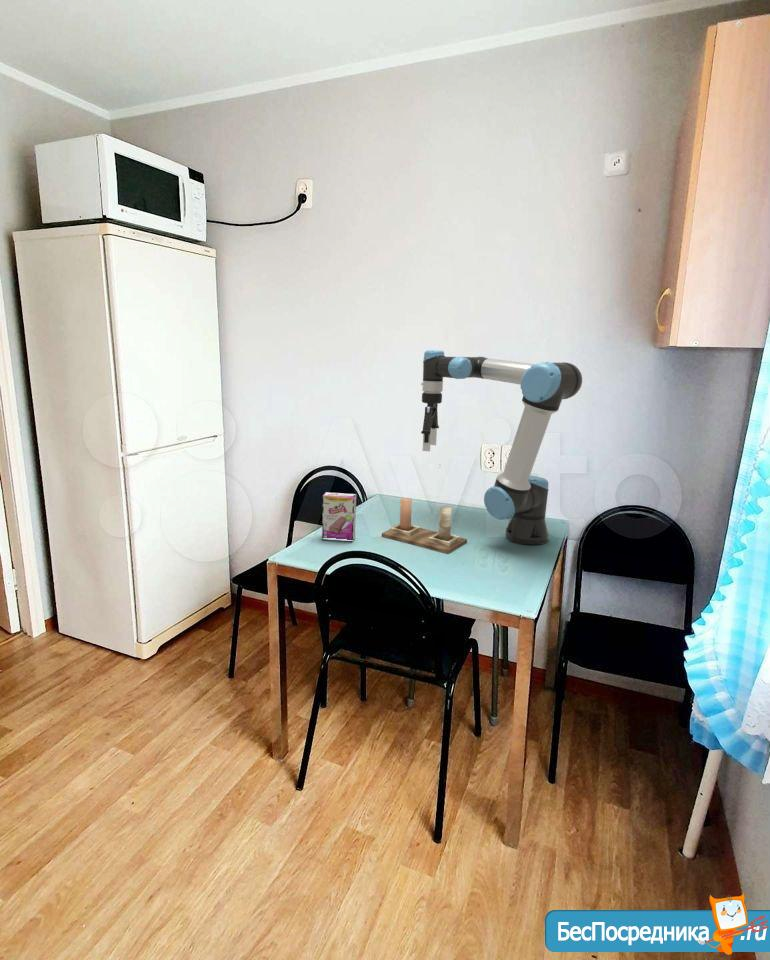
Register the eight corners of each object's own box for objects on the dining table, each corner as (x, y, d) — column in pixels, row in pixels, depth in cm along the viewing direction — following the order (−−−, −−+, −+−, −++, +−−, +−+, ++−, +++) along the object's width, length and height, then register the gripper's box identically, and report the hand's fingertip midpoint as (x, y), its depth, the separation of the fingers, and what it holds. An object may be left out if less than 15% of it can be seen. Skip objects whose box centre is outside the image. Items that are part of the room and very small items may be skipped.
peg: (412, 530, 204) (413, 499, 201) (407, 533, 201) (407, 501, 198) (403, 528, 206) (404, 497, 203) (397, 531, 203) (398, 499, 200)
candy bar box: (321, 540, 195) (321, 495, 191) (324, 536, 200) (324, 491, 196) (353, 542, 194) (354, 497, 190) (355, 537, 199) (356, 493, 195)
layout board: (467, 542, 198) (469, 506, 194) (448, 553, 186) (450, 516, 183) (402, 526, 212) (404, 493, 209) (381, 536, 201) (382, 501, 198)
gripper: (428, 389, 223) (425, 441, 228) (415, 394, 200) (413, 453, 205) (446, 390, 221) (444, 443, 226) (436, 395, 198) (433, 454, 203)
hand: (429, 448), depth 216 cm, fingers open, 13 cm apart
